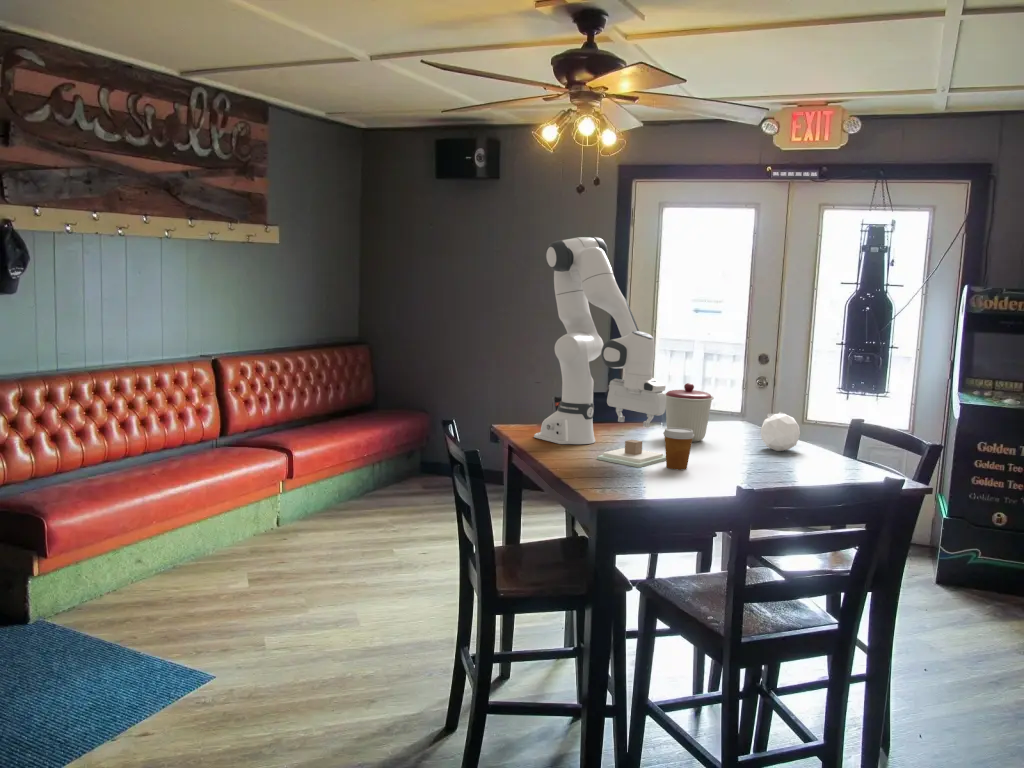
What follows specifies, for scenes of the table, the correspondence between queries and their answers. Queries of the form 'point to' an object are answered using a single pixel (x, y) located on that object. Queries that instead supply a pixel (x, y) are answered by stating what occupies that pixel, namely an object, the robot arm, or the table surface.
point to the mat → (631, 461)
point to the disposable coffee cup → (677, 447)
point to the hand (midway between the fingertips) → (633, 424)
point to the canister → (688, 410)
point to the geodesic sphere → (780, 432)
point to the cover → (633, 452)
